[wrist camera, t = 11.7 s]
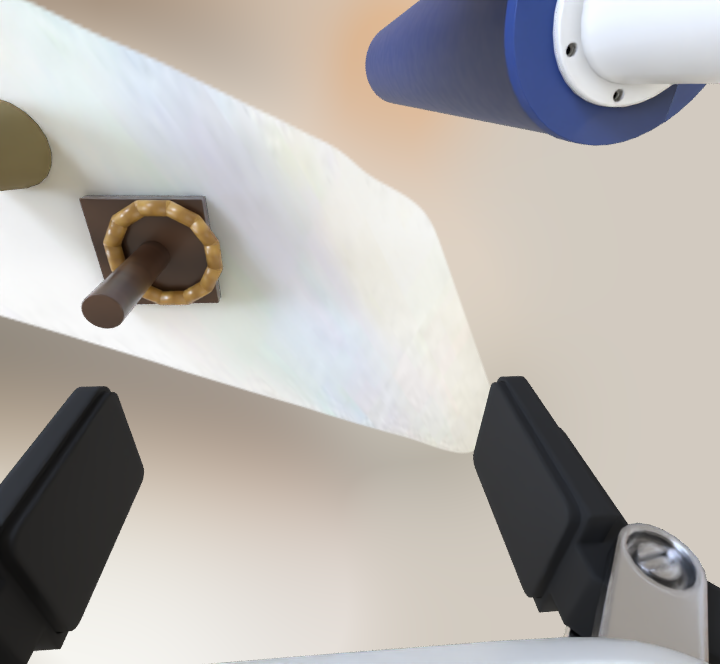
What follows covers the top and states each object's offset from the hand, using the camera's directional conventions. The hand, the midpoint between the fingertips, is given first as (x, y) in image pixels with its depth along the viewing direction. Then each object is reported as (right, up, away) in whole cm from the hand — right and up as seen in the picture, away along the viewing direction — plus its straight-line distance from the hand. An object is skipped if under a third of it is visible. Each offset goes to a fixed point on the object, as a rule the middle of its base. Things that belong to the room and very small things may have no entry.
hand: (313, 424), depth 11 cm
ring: (-15, +9, +23) cm, 28 cm away
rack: (-16, +9, +24) cm, 30 cm away
